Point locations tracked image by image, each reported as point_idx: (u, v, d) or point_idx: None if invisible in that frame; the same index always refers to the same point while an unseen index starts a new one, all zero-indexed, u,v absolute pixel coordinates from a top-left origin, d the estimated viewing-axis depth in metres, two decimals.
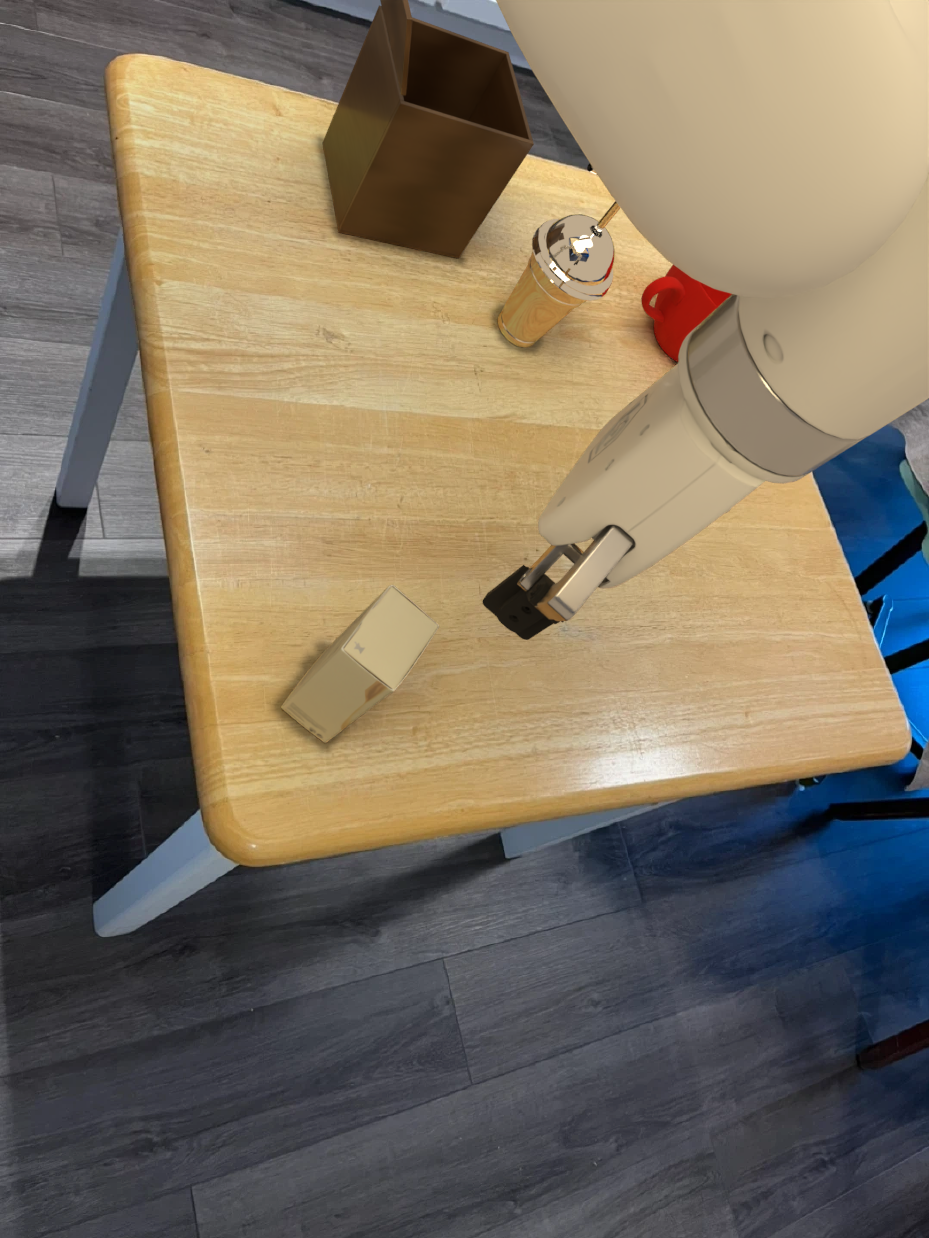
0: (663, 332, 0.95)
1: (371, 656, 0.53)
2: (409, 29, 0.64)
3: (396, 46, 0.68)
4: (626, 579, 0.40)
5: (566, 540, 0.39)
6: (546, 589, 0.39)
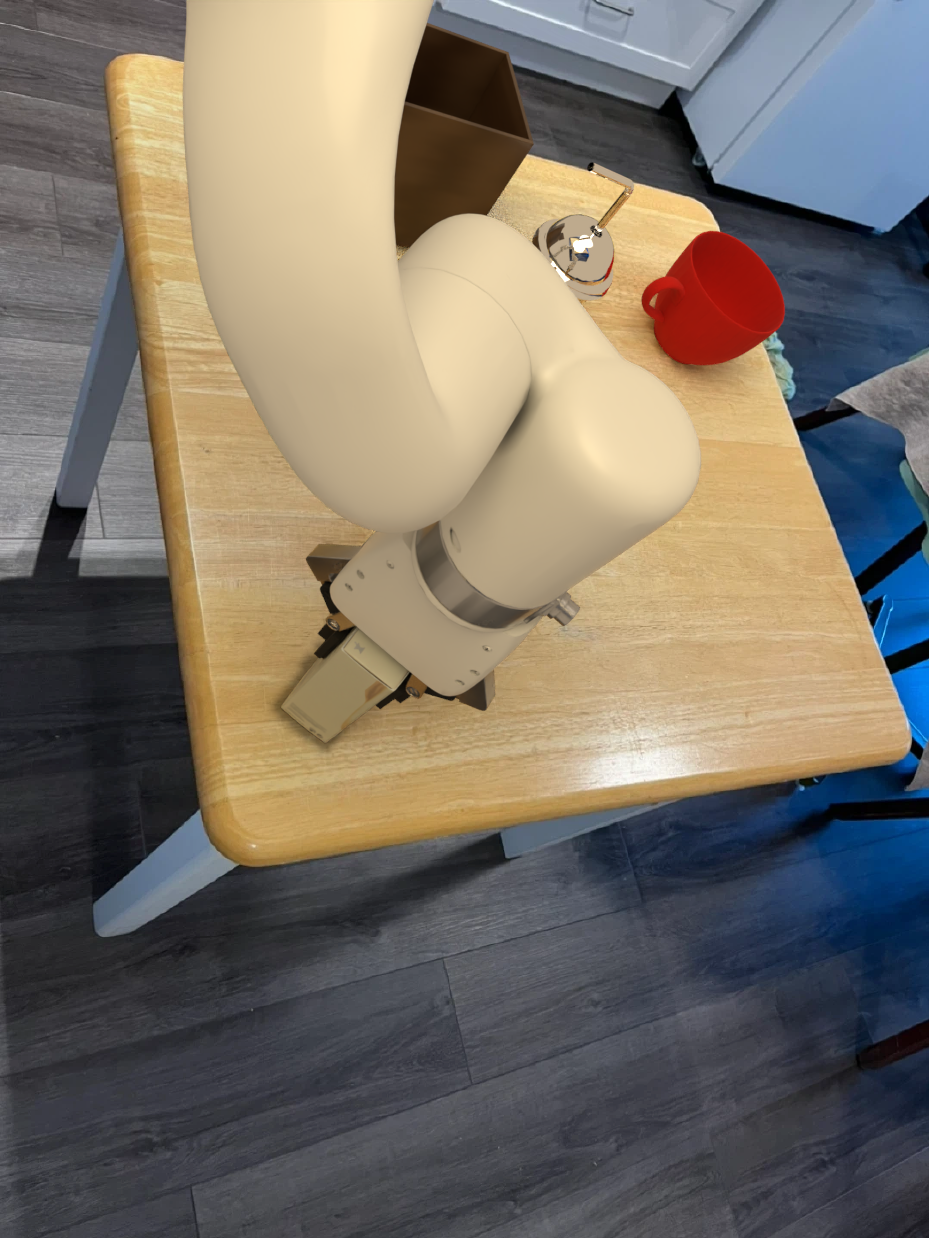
0: (663, 332, 0.95)
1: (371, 656, 0.53)
2: None
3: None
4: (336, 583, 0.50)
5: None
6: None
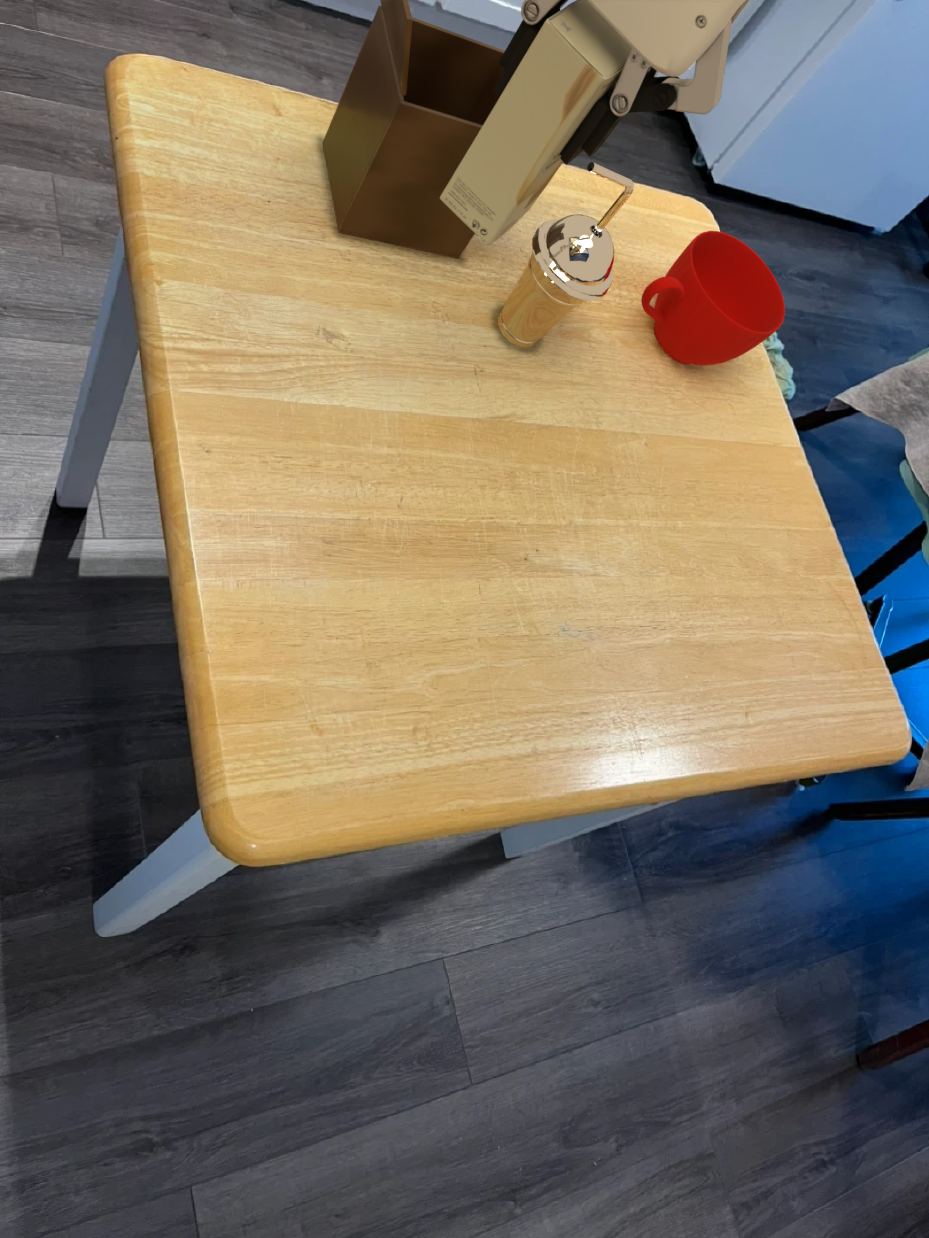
0: (663, 332, 0.95)
1: (578, 39, 0.45)
2: (409, 29, 0.64)
3: (396, 46, 0.68)
4: None
5: None
6: None
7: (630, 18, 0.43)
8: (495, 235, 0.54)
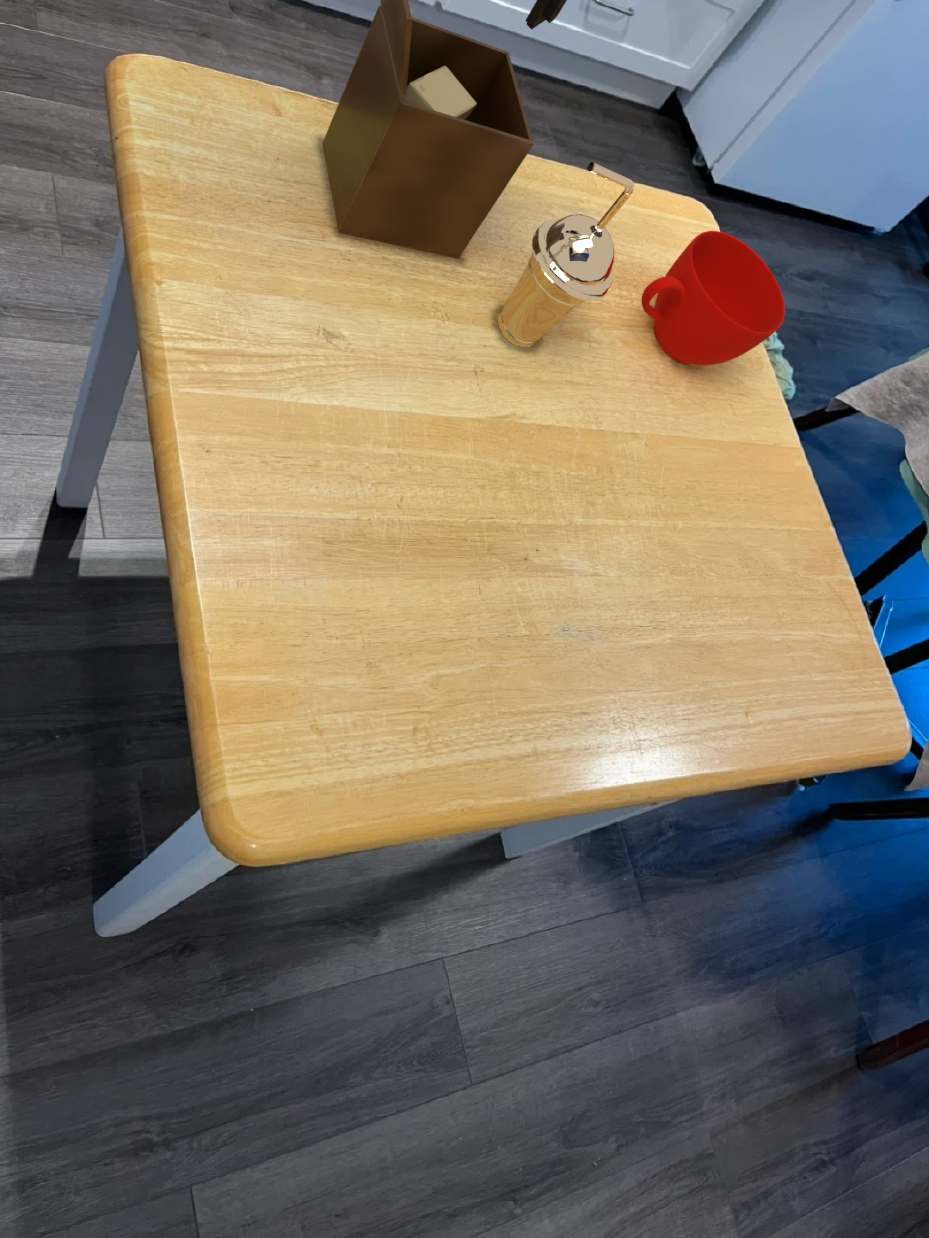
0: (663, 332, 0.95)
1: (429, 96, 0.74)
2: (409, 29, 0.64)
3: (396, 46, 0.68)
4: None
5: None
6: None
7: None
8: None
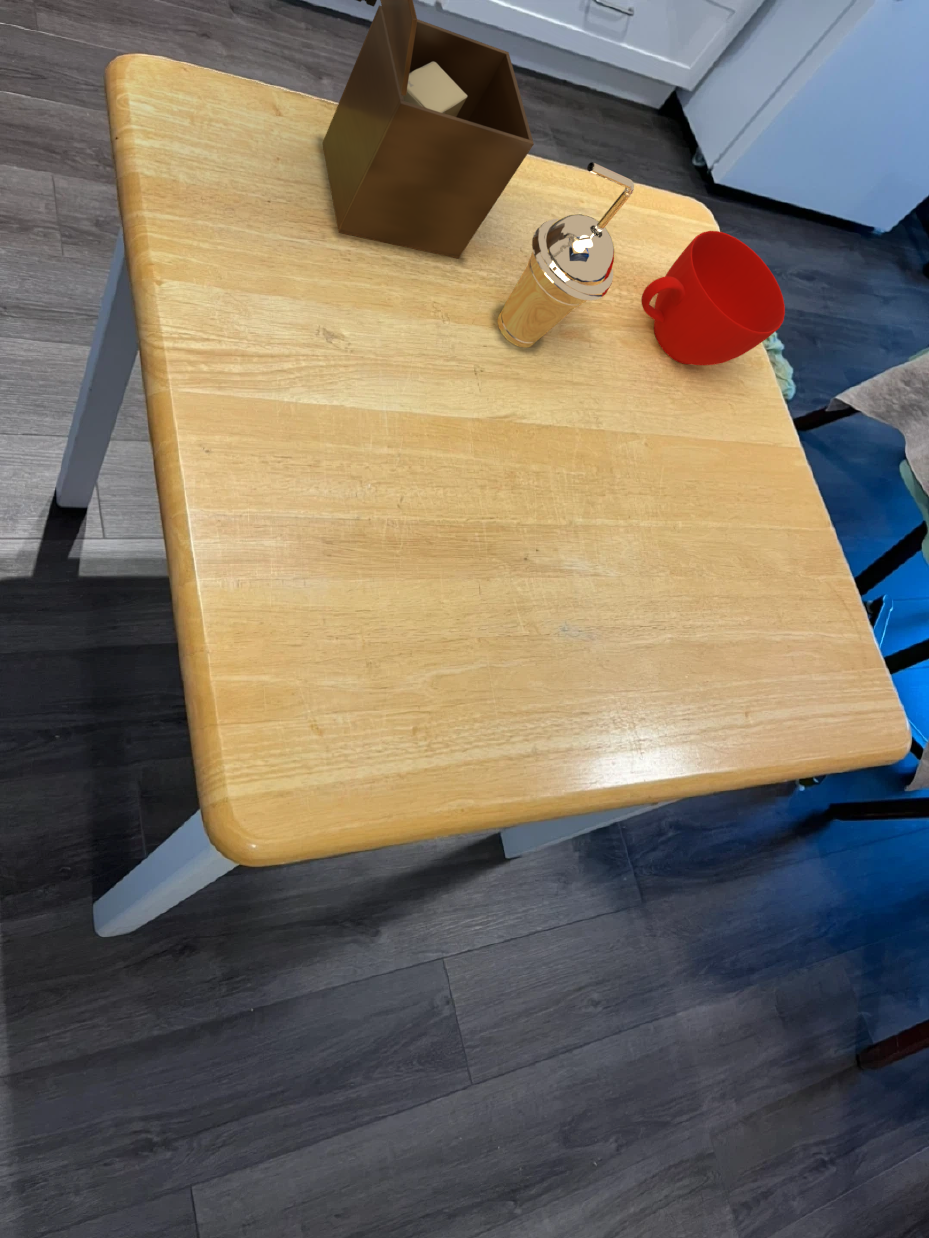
0: (663, 332, 0.95)
1: (418, 91, 0.74)
2: (413, 29, 0.64)
3: (397, 46, 0.68)
4: None
5: None
6: None
7: None
8: None
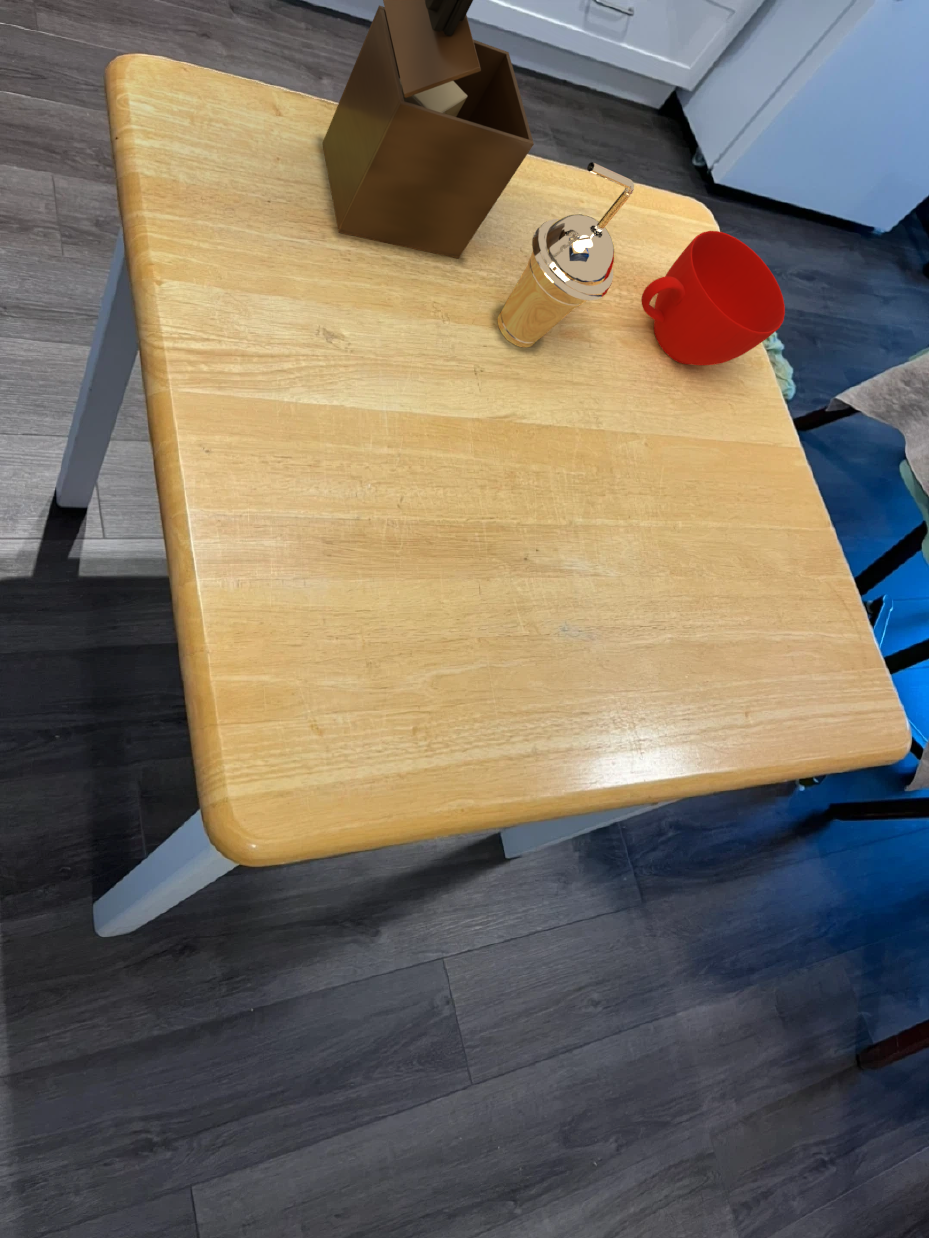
0: (663, 332, 0.95)
1: None
2: (470, 72, 0.68)
3: (418, 58, 0.70)
4: None
5: None
6: None
7: None
8: None
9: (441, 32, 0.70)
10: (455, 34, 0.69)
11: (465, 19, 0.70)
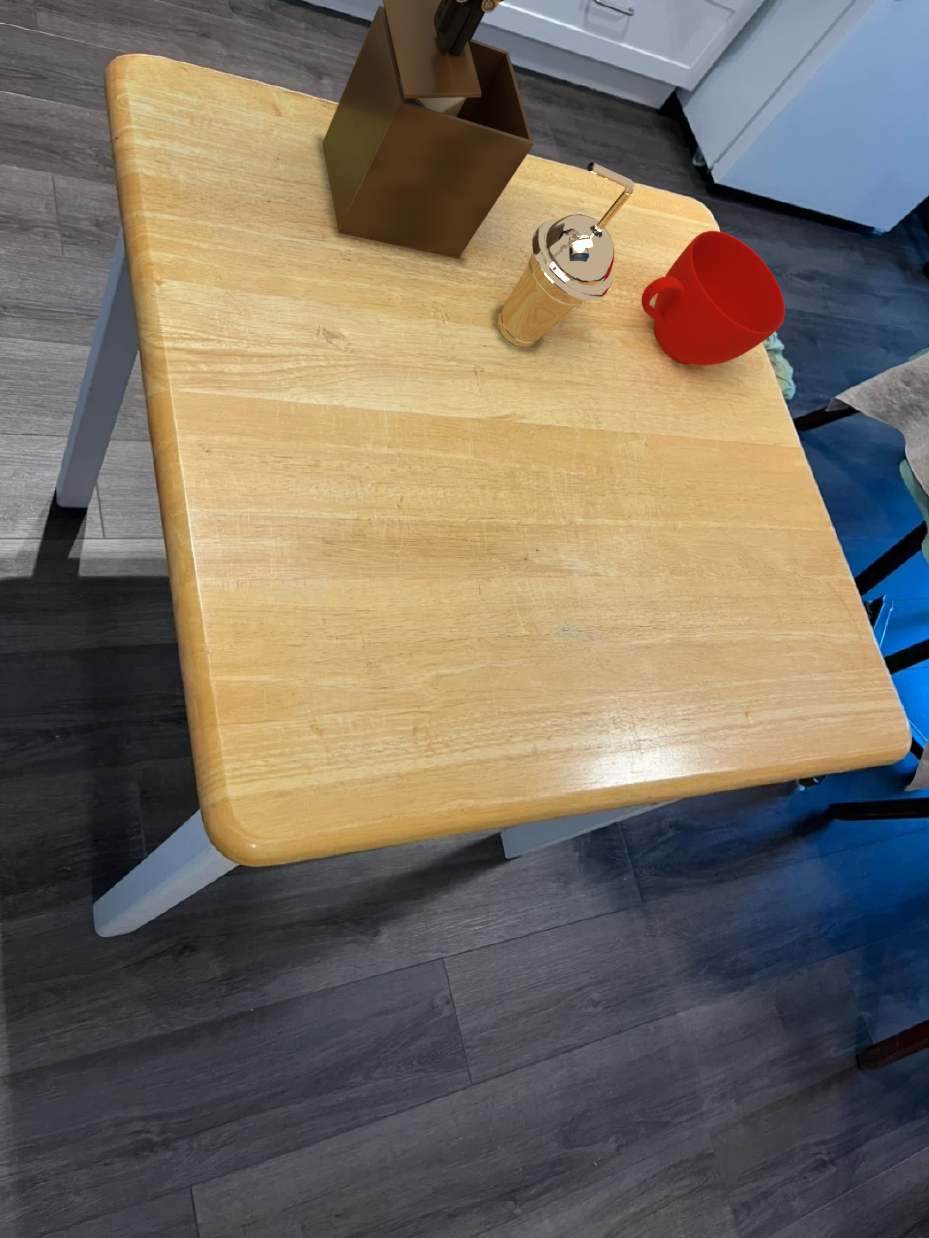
0: (663, 332, 0.95)
1: None
2: (471, 96, 0.70)
3: (420, 66, 0.70)
4: None
5: None
6: None
7: None
8: None
9: None
10: (457, 56, 0.71)
11: (467, 46, 0.72)
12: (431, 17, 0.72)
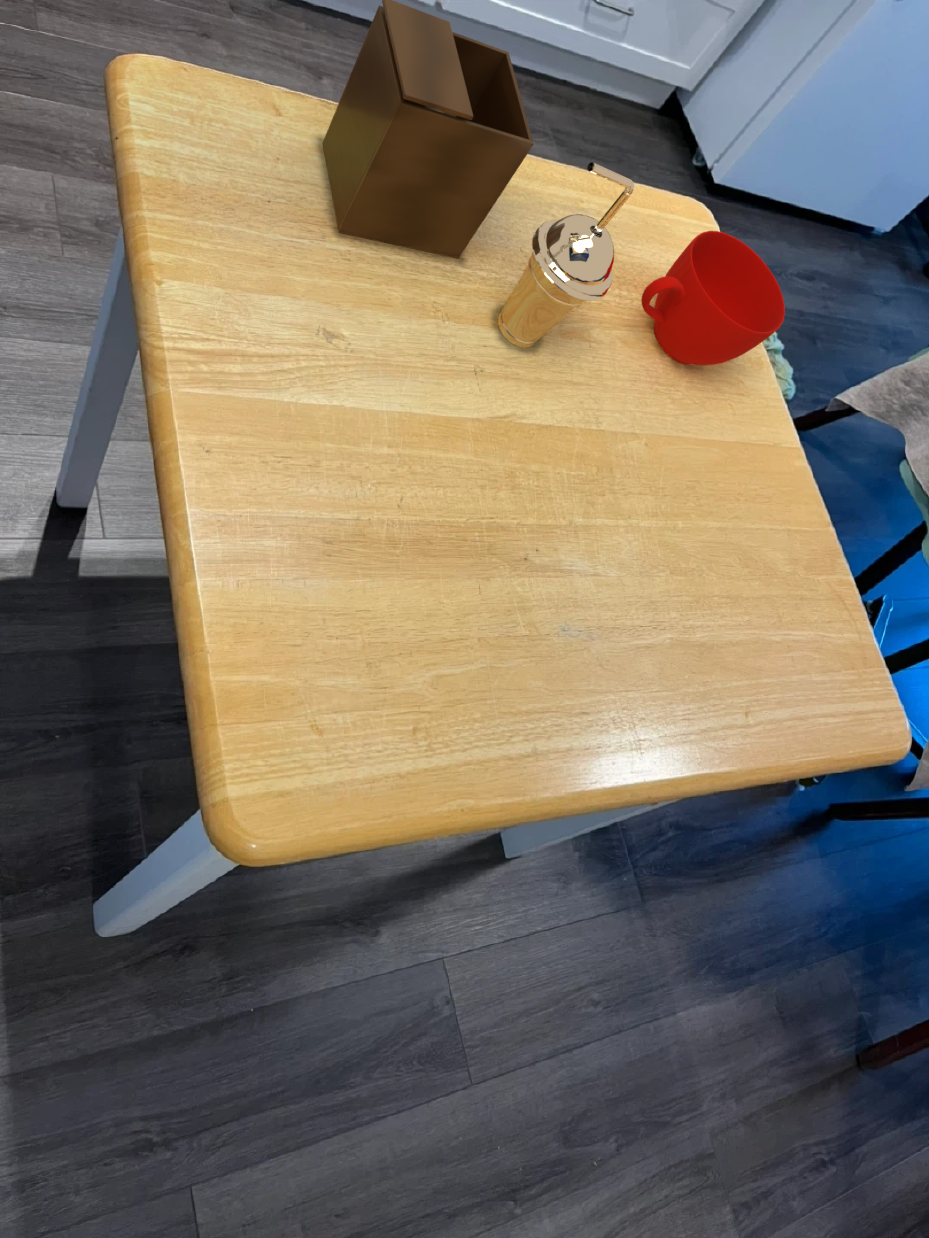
0: (663, 332, 0.95)
1: None
2: (464, 116, 0.72)
3: (419, 73, 0.71)
4: None
5: None
6: None
7: None
8: None
9: (439, 65, 0.73)
10: (452, 75, 0.73)
11: (460, 69, 0.74)
12: (428, 32, 0.74)
